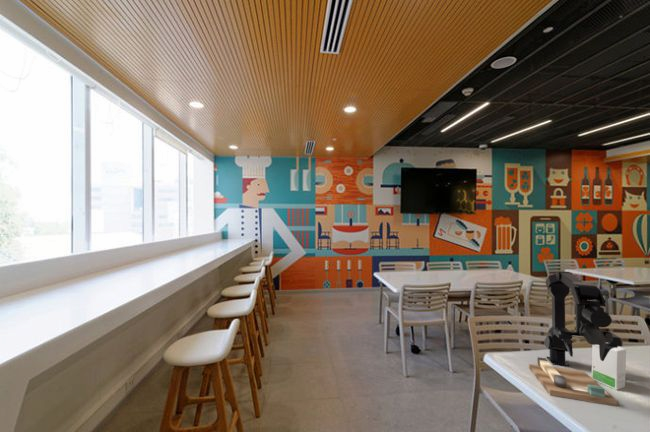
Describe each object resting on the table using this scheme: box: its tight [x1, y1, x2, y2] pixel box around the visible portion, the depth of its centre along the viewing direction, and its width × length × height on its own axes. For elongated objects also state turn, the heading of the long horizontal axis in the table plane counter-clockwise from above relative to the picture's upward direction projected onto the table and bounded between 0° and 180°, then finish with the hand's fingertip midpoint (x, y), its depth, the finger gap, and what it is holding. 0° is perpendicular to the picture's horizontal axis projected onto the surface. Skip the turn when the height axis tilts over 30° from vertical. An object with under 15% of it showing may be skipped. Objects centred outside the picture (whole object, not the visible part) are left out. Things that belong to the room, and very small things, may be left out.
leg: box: [537, 357, 566, 388], centre depth 114 cm, size 18×4×3 cm, turn 162°
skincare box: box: [590, 344, 627, 391], centre depth 112 cm, size 8×7×16 cm
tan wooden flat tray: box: [528, 363, 618, 407], centre depth 111 cm, size 20×20×5 cm
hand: (586, 358), depth 105 cm, fingers open, 9 cm apart
